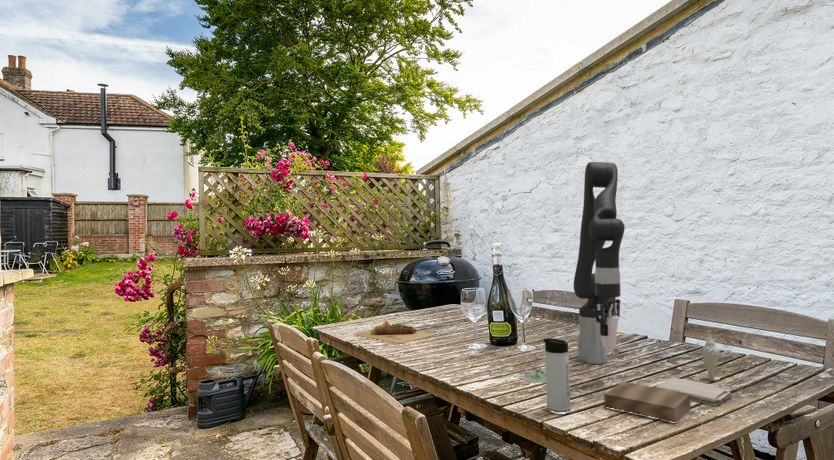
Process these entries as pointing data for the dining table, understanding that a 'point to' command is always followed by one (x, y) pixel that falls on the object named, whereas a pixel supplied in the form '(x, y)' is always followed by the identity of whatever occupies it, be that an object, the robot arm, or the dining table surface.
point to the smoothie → (611, 332)
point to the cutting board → (394, 333)
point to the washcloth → (697, 391)
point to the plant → (534, 374)
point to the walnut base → (648, 401)
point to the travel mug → (557, 375)
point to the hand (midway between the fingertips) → (608, 333)
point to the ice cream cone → (710, 356)
